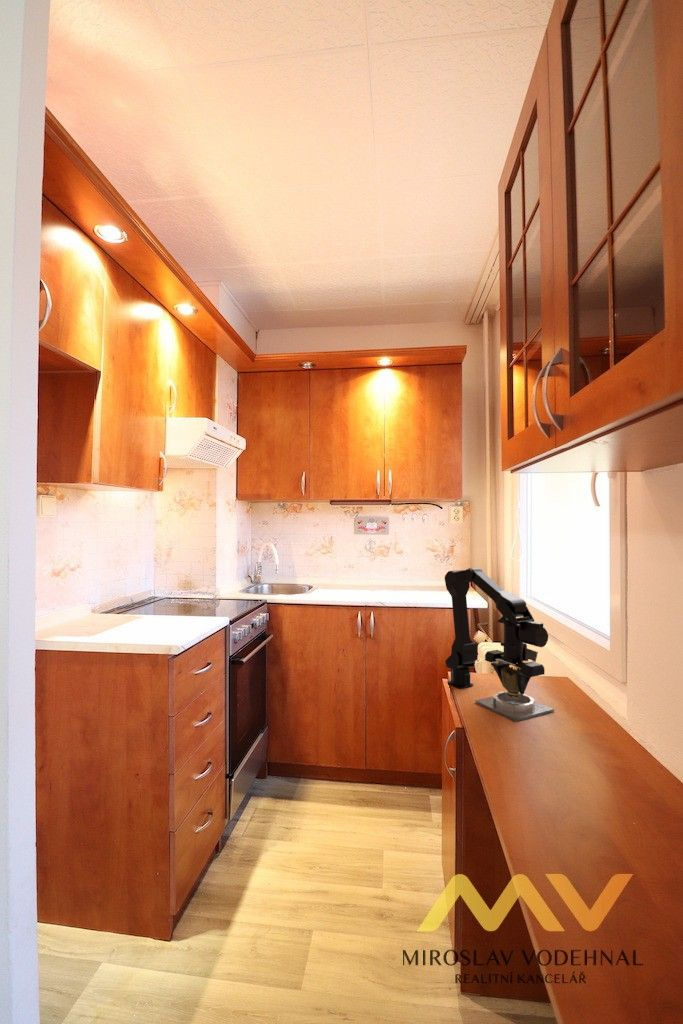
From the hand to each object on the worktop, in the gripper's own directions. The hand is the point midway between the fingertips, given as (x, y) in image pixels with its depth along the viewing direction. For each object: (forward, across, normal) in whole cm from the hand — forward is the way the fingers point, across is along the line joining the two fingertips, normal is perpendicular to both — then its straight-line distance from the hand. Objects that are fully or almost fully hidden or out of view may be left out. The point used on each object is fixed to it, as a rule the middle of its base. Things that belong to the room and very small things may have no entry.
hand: (513, 690), depth 146 cm
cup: (+2, 0, 0) cm, 2 cm away
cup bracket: (+5, 0, 0) cm, 5 cm away
